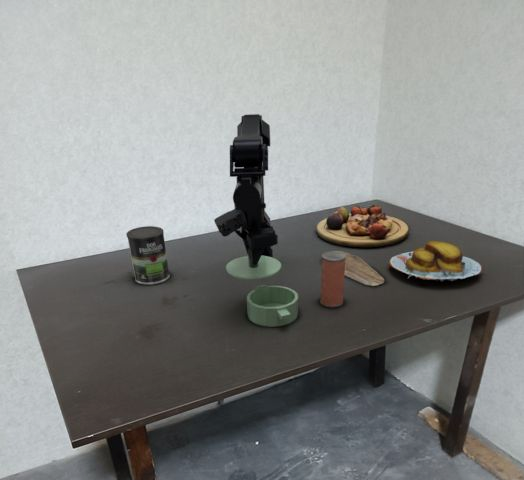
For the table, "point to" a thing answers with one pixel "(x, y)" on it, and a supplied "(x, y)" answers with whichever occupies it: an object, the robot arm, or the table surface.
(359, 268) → the brown flat tapered piece
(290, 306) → the pot
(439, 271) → the food on plate
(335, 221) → the wooden plate
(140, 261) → the coffee can
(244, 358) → the table surface
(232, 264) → the pot lid
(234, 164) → the robot arm
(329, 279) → the reddish translucent cylinder
